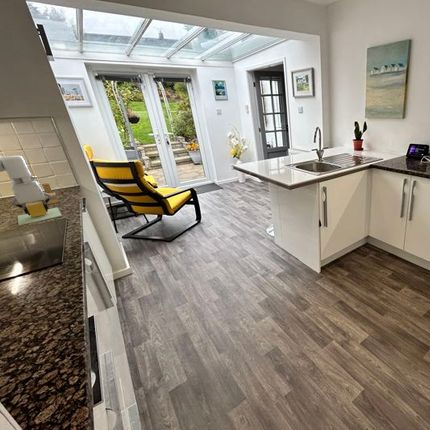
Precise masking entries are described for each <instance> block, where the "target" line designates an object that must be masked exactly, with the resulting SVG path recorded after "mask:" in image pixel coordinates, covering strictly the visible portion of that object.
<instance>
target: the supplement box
mask: <svg viewBox="0 0 430 430" xmlns="http://www.w3.org/2000/svg"><path fill="white" fill-rule="evenodd" d="M40 185H41V186H42V189H43V191H44V193H47V194H49V193H54V191H53V190H52V187H51V184H50V183H49V182H48V181H47V182H41V183H40Z"/></svg>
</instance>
